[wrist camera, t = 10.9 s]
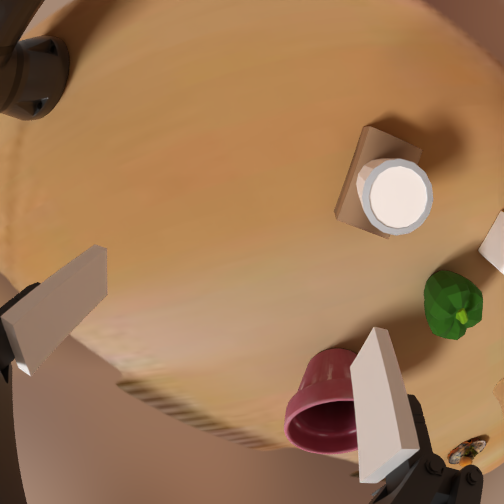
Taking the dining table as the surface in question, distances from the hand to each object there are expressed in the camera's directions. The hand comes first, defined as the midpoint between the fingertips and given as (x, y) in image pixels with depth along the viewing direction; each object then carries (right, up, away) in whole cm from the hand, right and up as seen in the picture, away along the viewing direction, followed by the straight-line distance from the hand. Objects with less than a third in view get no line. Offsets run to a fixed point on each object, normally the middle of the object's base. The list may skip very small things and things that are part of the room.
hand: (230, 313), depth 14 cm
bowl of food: (+58, -50, +38) cm, 85 cm away
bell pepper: (+28, -2, +24) cm, 37 cm away
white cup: (+15, +10, +17) cm, 24 cm away
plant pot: (+14, -16, +32) cm, 38 cm away
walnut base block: (+15, +11, +20) cm, 28 cm away
